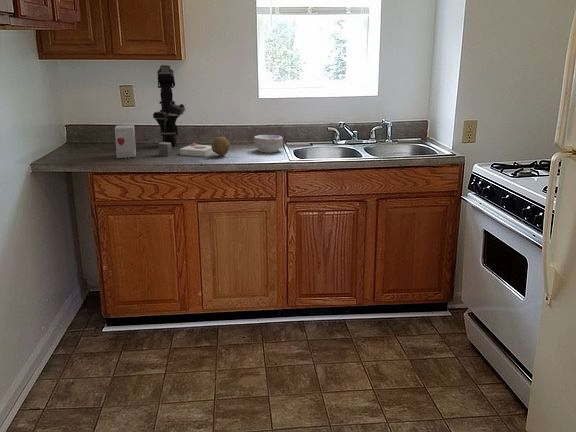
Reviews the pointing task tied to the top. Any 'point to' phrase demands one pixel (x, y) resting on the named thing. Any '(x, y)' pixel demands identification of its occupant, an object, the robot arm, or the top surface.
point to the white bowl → (268, 143)
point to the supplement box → (125, 141)
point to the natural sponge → (220, 146)
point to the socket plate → (196, 150)
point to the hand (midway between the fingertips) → (168, 130)
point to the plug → (165, 149)
